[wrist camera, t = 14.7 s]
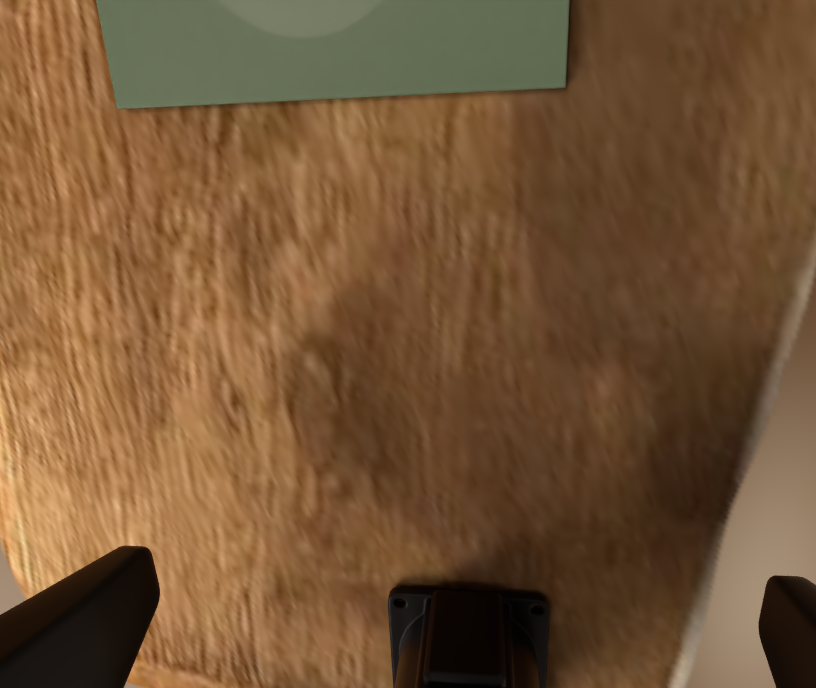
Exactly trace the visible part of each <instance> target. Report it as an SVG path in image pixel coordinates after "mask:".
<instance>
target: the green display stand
mask: <svg viewBox="0 0 816 688" xmlns="http://www.w3.org/2000/svg"><path fill="white" fill-rule="evenodd" d="M96 3H97V8H98V13H99V18H100V23H101V28H102V33H103V39H104V44H105V49H106V54H107V59H108V64H109V70H110V75H111V80H112V85H113V90H114V95H115V101H116V106H117V109H137V108H158V107H179V106H199V105H220V104H241V103H262V102H283V101H303V100H324V99H345V98H366V97H387V96H407V95H428V94H449V93H470V92H491V91H511V90H532V89H553V88H564V87H566V73H567V51H568V29H569V7H570V0H96Z"/></svg>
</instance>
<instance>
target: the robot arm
mask: <svg viewBox="0 0 816 688" xmlns="http://www.w3.org/2000/svg"><path fill="white" fill-rule="evenodd" d="M159 597H160V587H159V583H158V578H157V574H156V570H155V565H154V561H153V557H152V553H151V551H150V550H149V549H148V548H146V547H143V546H121V547H119V548H117V549H115V550H113V551H112V552H110V553H108V554H106V555H105V556H103V557H101V558H99V559H98V560H96V561H94V562H92V563H91V564H89V565H87V566H85V567H84V568H82V569H80V570H78V571H77V572H75V573H73V574H71V575H70V576H68V577H66V578H64V579H63V580H61V581H59V582H57V583H56V584H54V585H52V586H50V587H49V588H47V589H45V590H43V591H42V592H40V593H38V594H36V595H35V596H33V597H31V598H29V599H28V600H26V601H24V602H22V603H21V604H19V605H17V606H15V607H14V608H12V609H10V610H8V611H7V612H5V613H3V614H1V615H0V688H124V686H125V683H126V681H127V678H128V676H129V674H130V671H131V669H132V666H133V664H134V662H135V659H136V657H137V654H138V652H139V649H140V647H141V645H142V642H143V640H144V637H145V635H146V632H147V630H148V628H149V625H150V623H151V620H152V618H153V616H154V613H155V611H156V608H157V606H158V602H159ZM398 598H401V599H403V600H405V601H399V600H397V599H398ZM533 606H540V607H539V608H533ZM549 612H550V611H549V603H548V600H547V598H546V597H545V596H543V595H541V594H537V593H520V592H500V591H480V590H460V589H440V588H421V587H395V588H393V589H392V590H391V591H390V594H389V599H388V613H389V628H390V642H391V657H392V672H393V687H394V688H546V672H547V652H548V632H549ZM759 635H760V639H761V643H762V646H763V649H764V652H765V655H766V657H767V660H768V664H769V667H770V670H771V673H772V676H773V679H774V682H775V684H776V688H816V585H815V584H813V583H812V582H810V581H809V580H807V579H805V578H803V577H798V576H772V577H771V578H770V579H769V580H768V582H767V585H766V589H765V594H764V598H763V603H762V608H761V613H760V618H759Z"/></svg>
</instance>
